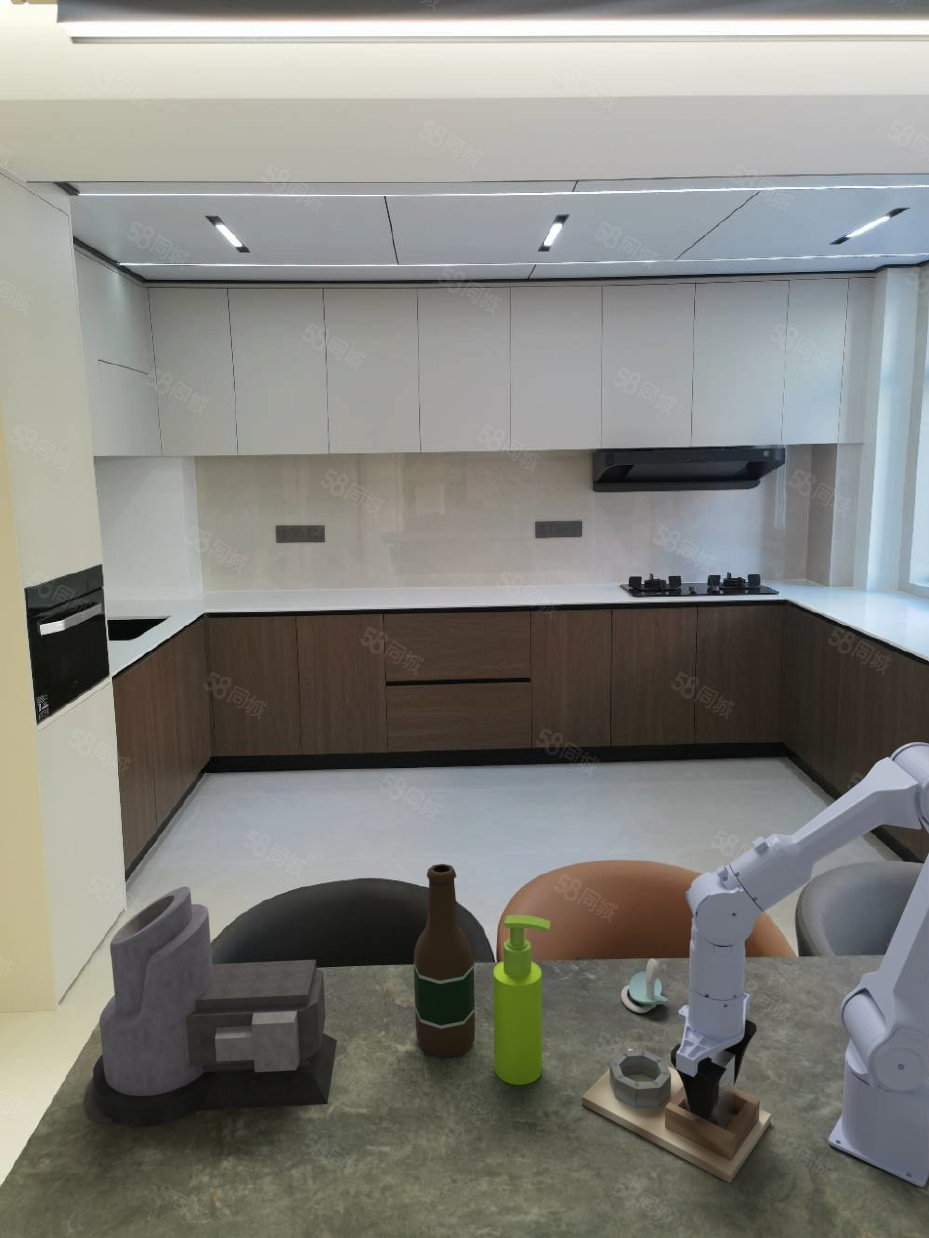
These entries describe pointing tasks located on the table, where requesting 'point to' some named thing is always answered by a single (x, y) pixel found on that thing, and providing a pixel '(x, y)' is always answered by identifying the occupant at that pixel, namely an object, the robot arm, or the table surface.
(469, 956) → the beer bottle
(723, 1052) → the square peg
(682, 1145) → the socket board
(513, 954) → the soap dispenser
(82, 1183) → the table surface
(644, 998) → the pacifier
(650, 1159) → the table surface
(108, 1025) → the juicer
